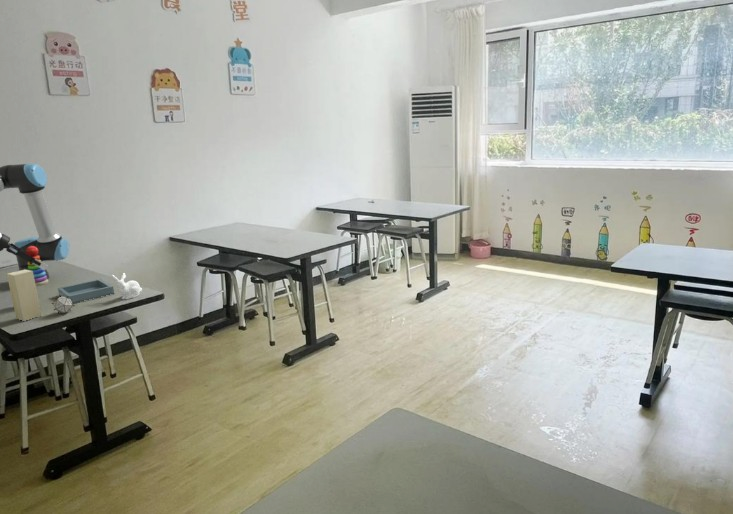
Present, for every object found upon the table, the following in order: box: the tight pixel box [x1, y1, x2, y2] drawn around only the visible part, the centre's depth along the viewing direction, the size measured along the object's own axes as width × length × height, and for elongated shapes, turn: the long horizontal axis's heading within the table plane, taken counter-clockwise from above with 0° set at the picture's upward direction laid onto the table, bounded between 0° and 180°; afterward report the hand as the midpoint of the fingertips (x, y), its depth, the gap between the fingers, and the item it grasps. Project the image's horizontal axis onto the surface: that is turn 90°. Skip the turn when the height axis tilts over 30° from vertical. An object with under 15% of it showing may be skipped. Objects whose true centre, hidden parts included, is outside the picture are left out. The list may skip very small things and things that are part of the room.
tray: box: [57, 278, 115, 305], centre depth 270 cm, size 20×20×4 cm
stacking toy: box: [26, 246, 49, 287], centre depth 257 cm, size 8×8×19 cm
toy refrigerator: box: [6, 270, 42, 322], centre depth 239 cm, size 8×7×21 cm
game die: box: [51, 295, 76, 315], centre depth 244 cm, size 9×8×10 cm
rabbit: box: [111, 272, 143, 300], centre depth 263 cm, size 12×9×12 cm
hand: (44, 266), depth 260 cm, fingers closed on stacking toy, 6 cm apart
